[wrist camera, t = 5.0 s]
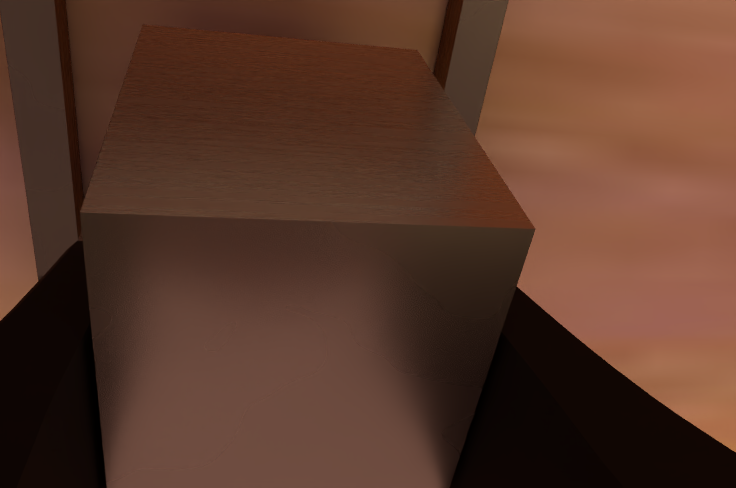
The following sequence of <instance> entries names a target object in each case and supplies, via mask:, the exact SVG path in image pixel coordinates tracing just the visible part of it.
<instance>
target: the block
mask: <svg viewBox="0 0 736 488" xmlns="http://www.w3.org/2000/svg"><path fill="white" fill-rule="evenodd" d="M80 218H81V228H82V239H83V249H84V259H85V269H86V280H87V290H88V300H89V310H90V320H91V331H92V341H93V351H94V361H95V372H96V382H97V392H98V402H99V412H100V423H101V433H102V443H103V453H104V464H105V474H106V484H107V488H450V485H451V482H452V479H453V476H454V473H455V470H456V467H457V464H458V461H459V458H460V455H461V452H462V449H463V446H464V443H465V439H466V436H467V433H468V430H469V427H470V424H471V421H472V418H473V415H474V412H475V409H476V406H477V403H478V400H479V397H480V394H481V391H482V388H483V385H484V382H485V379H486V376H487V373H488V370H489V367H490V364H491V361H492V358H493V355H494V352H495V349H496V346H497V343H498V340H499V337H500V334H501V331H502V328H503V325H504V322H505V319H506V316H507V313H508V310H509V307H510V304H511V301H512V298H513V295H514V292H515V289H516V286H517V283H518V280H519V277H520V274H521V271H522V268H523V265H524V262H525V259H526V256H527V253H528V250H529V247H530V244H531V241H532V238H533V235H534V232H535V228H534V226H533V224H532V223H531V221H530V220H529V218H528V217H527V215H526V214H525V212H524V211H523V209H522V208H521V206H520V205H519V203H518V202H517V200H516V199H515V197H514V196H513V194H512V193H511V191H510V190H509V188H508V187H507V185H506V184H505V182H504V181H503V179H502V178H501V176H500V175H499V173H498V171H497V170H496V168H495V167H494V165H493V164H492V162H491V161H490V159H489V158H488V156H487V155H486V153H485V152H484V150H483V149H482V147H481V146H480V144H479V143H478V141H477V140H476V138H475V137H474V135H473V134H472V132H471V131H470V129H469V128H468V126H467V125H466V123H465V122H464V120H463V118H462V117H461V115H460V114H459V112H458V111H457V109H456V108H455V106H454V105H453V103H452V102H451V100H450V99H449V97H448V96H447V94H446V93H445V91H444V90H443V88H442V87H441V85H440V84H439V82H438V81H437V79H436V78H435V76H434V75H433V73H432V72H431V70H430V69H429V67H428V66H427V64H426V62H425V61H424V59H423V58H422V56H421V55H420V53H419V52H418V50H412V49H401V48H391V47H380V46H369V45H358V44H348V43H337V42H326V41H316V40H305V39H294V38H284V37H273V36H262V35H251V34H241V33H230V32H219V31H209V30H198V29H187V28H177V27H166V26H155V25H145V24H143V25H142V28H141V31H140V34H139V37H138V40H137V43H136V46H135V49H134V52H133V55H132V58H131V61H130V64H129V67H128V70H127V73H126V76H125V79H124V82H123V85H122V88H121V91H120V94H119V97H118V100H117V103H116V106H115V109H114V112H113V115H112V118H111V121H110V124H109V127H108V130H107V133H106V136H105V139H104V142H103V145H102V148H101V151H100V154H99V157H98V160H97V163H96V166H95V169H94V172H93V175H92V178H91V181H90V184H89V187H88V190H87V193H86V196H85V199H84V202H83V205H82V208H81V211H80Z"/></svg>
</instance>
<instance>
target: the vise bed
mask: <svg viewBox="0 0 736 488" xmlns="http://www.w3.org/2000/svg"><path fill="white" fill-rule="evenodd" d="M507 4H508V0H449V2H448V7H447V12H446V17H445V22H444V26H443V31H442V36H441V41H440V46H439V51H438V56H437V61H436V66H435V71H434V76H435V78H436V79H437V81H438V82H439V84H440V85H441V87H442V88H443V90H444V91H445V93H446V94H447V96H448V97H449V99H450V100H451V102H452V103H453V105H454V106H455V108H456V109H457V111H458V112H459V114H460V115H461V117H462V118H463V120H464V122H465V123H466V125H467V126H468V128H469V129H470V131H471V132H472V134H473V135H474V137H475V133H476V129H477V125H478V121H479V117H480V113H481V109H482V105H483V101H484V97H485V93H486V89H487V85H488V81H489V77H490V73H491V69H492V65H493V61H494V57H495V53H496V49H497V45H498V41H499V37H500V33H501V28H502V24H503V20H504V16H505V12H506V8H507ZM0 13H1V21H2V28H3V35H4V42H5V49H6V56H7V63H8V70H9V77H10V84H11V91H12V98H13V105H14V112H15V119H16V126H17V133H18V140H19V147H20V154H21V161H22V168H23V175H24V182H25V189H26V196H27V203H28V210H29V217H30V224H31V231H32V238H33V245H34V252H35V259H36V266H37V273H38V280H40V279H41V278H42V277H43V276H44V275H45V274H46V272H47V271H48V270H49V269H50V268H51V267H52V266H53V265H54V264H55V262H56V261H57V260H58V259H59V258H60V257H61V256H62V255H63V253H64V252H65V251H66V250H67V249H68V248H69V247H70V246H71V245H73V244H74V243H75V242H76V241H83V239H82V228H81V218H80V211H81V208H82V205H83V202H84V199H83V188H82V177H81V166H80V155H79V144H78V133H77V122H76V111H75V100H74V89H73V78H72V67H71V56H70V45H69V34H68V23H67V12H66V1H65V0H0Z"/></svg>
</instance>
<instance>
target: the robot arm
mask: <svg viewBox="0 0 736 488" xmlns="http://www.w3.org/2000/svg"><path fill="white" fill-rule="evenodd" d="M0 488H107V484H106V474H105V464H104V453H103V443H102V433H101V423H100V412H99V402H98V392H97V382H96V372H95V361H94V351H93V341H92V331H91V320H90V310H89V300H88V290H87V280H86V269H85V259H84V249H83V241H76V242H75V243H74V244H73V245H71V246H70V247H69V248H68V249H67V250H66V251H65V252H64V253H63V255H62V256H61V257H60V258H59V259H58V260H57V261H56V262H55V264H54V265H53V266H52V267H51V268H50V269H49V270H48V271H47V272H46V274H45V275H44V276H43V277H42V278H41V279H40V280H39V281H38V282H37V283H36V285H35V286H34V287H33V288H32V289H31V290H30V291H29V292H28V293H27V294H26V295H25V296H24V297H23V298H22V300H21V301H20V302H19V303H18V304H17V305H16V306H15V307H14V308H13V309H12V310H11V311H10V312H9V313H8V314H7V315H6V316H5V317H4V318H3V319H2V320H1V321H0ZM450 488H736V452H734V451H732V450H731V449H729V448H728V447H726V446H725V445H723V444H722V443H720V442H719V441H717V440H716V439H714V438H712V437H711V436H709V435H708V434H706V433H705V432H703V431H702V430H700V429H699V428H697V427H696V426H694V425H693V424H691V423H690V422H688V421H687V420H685V419H684V418H682V417H681V416H679V415H678V414H676V413H675V412H673V411H672V410H670V409H669V408H668V407H666V406H665V405H663V404H662V403H660V402H659V401H658V400H656V399H655V398H653V397H652V396H651V395H649V394H648V393H647V392H645V391H644V390H643V389H641V388H640V387H639V386H637V385H636V384H635V383H633V382H632V381H631V380H630V379H628V378H627V377H626V376H624V375H623V374H622V373H620V372H619V371H618V370H616V369H615V368H614V367H612V366H611V365H610V364H608V363H607V362H606V361H605V360H603V359H602V358H601V357H600V356H598V355H597V354H596V353H595V352H593V351H592V350H591V349H590V348H588V347H587V346H586V345H585V344H584V343H582V342H581V341H580V340H579V339H577V338H576V337H575V336H574V335H573V334H571V333H570V332H569V331H568V330H567V329H566V328H564V327H563V326H562V325H561V324H560V323H558V322H557V321H556V320H555V319H554V318H553V317H551V316H550V315H549V314H548V313H547V312H546V311H544V310H543V309H542V308H541V307H540V306H539V305H537V304H536V303H535V302H534V301H533V300H532V299H531V298H529V297H528V296H527V295H526V294H525V293H524V292H522V291H521V290H520V289H519V288H518V287H517V286H516V289H515V292H514V295H513V298H512V301H511V304H510V307H509V310H508V313H507V316H506V319H505V322H504V325H503V328H502V331H501V334H500V337H499V340H498V343H497V346H496V349H495V352H494V355H493V358H492V361H491V364H490V367H489V370H488V373H487V376H486V379H485V382H484V385H483V388H482V391H481V394H480V397H479V400H478V403H477V406H476V409H475V412H474V415H473V418H472V421H471V424H470V427H469V430H468V433H467V436H466V439H465V443H464V446H463V449H462V452H461V455H460V458H459V461H458V464H457V467H456V470H455V473H454V476H453V479H452V482H451V485H450Z"/></svg>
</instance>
